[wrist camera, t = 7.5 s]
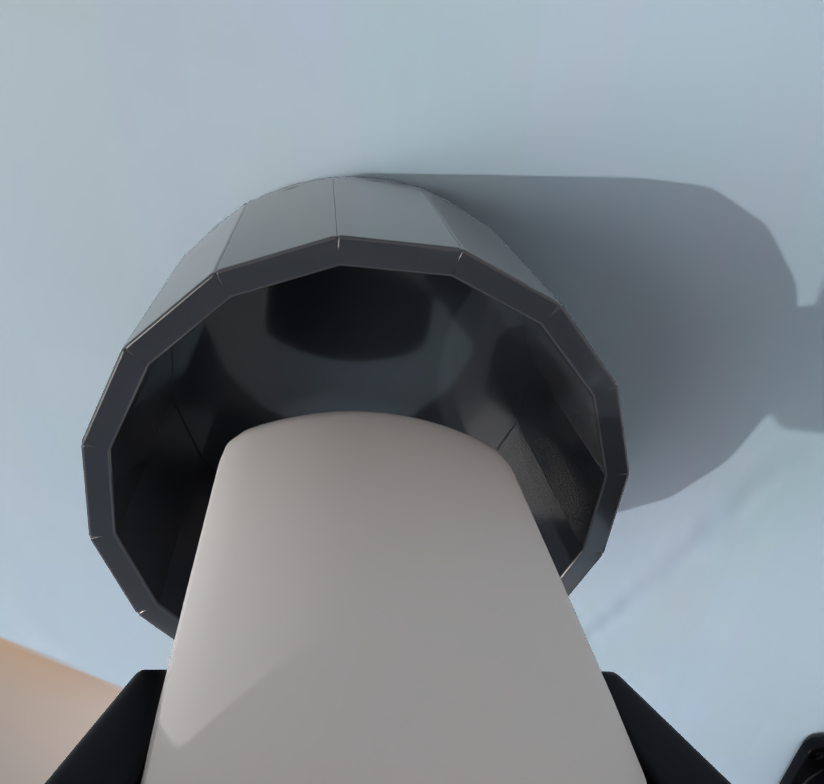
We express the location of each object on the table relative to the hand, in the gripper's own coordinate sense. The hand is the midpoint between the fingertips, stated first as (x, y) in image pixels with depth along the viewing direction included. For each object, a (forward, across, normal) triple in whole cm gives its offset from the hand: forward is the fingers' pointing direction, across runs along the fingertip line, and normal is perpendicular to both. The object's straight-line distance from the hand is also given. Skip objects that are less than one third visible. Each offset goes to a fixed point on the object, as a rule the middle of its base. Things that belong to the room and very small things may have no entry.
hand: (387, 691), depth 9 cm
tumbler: (+10, 0, 0) cm, 10 cm away
